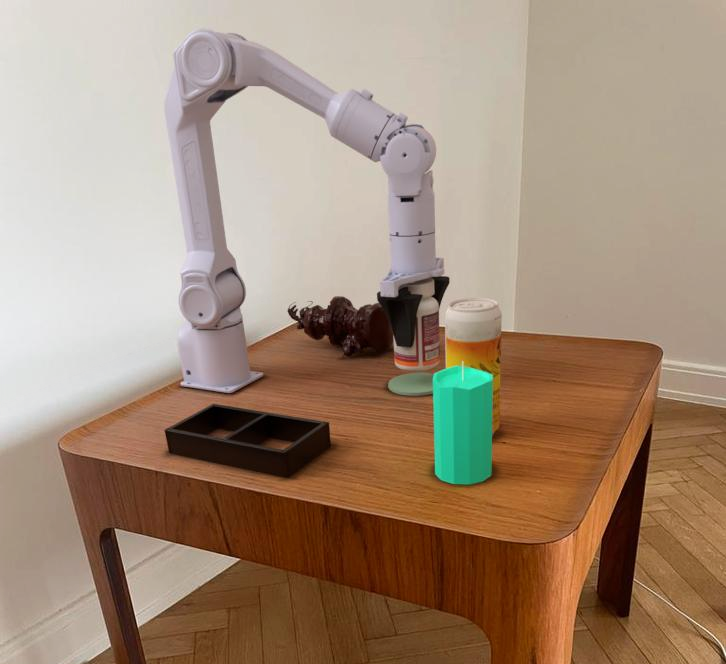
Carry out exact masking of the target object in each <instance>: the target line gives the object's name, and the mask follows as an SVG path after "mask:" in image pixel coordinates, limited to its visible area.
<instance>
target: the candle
mask: <svg viewBox="0 0 726 664" xmlns="http://www.w3.org/2000/svg"><path fill="white" fill-rule="evenodd" d="M433 374H434V377H433V394H432V402H433V403H432V405H433V441H434V442H433V445H434V447H433V448H434V475H435V476H436V477H437V478H438V479H439V480H440V481H442V482H446V483H449V484H452V485H474V484H478V483H482V482H484V481H486V480H488V478H490V477H491V476H492V470H493V468H492V467H493V435H492V409H493V375H492V374H490V373H487V372H485V371H481V370H478V369H475V368H470V367H464V361H462V366H453V367H450V368H447V369H446V368H444V369H441V370H439V371H437V372H434V373H433Z"/></svg>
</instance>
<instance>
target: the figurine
mask: <svg viewBox="0 0 726 664" xmlns="http://www.w3.org/2000/svg"><path fill="white" fill-rule="evenodd" d="M309 302H311V303H310V304H309V305H307V306H306V307H303V308H301V309H300V310H299V308H297V304H296V303H297V301H295V302H292V303H291V304H289V306H288V308H287V314H288V316H289V317H290V319H292V320H294V321H296V322H297V323H298V324H297V325H296V329H297V330H303V333H304V334H305V335H307V336H308V337H309V338H310V339H312V340H314V341H321V340H323V339H324V338H325V336H326V337H327V339H328V341H329V343H330V344H331V346H333V347H335V348H338V349H342V350H343V355H342V358H341V359H343V358H344V357H345V356H346V357H352V356H353V355H354V354H355V353H356V354H358V353H360V354H362V353H364V351H365V349H368V348H369V349H372V350H373V351H374V354H376V355H379V356H380V355H383V354H384V353H386V352H387V351H390V350H391V348H392V346H393V344H394V339H393V332H392V328H391V325H390V322H389V320H388V317H387V315H386V313H385V311H384V310H383V308H382V306H381V305H380V303H379V302H375V303H374V304H371V303H368V304H365V305H362V306H360V307H359V308H358V309H357V308H356V307H355V306H354V304H353V302H352V301H351V300H350V299H349V298H347V297H346V296H342V295H335V296H333V297H332V298H331V300H330V301H329V304H328V305H327V307H326V308H324V307H323V306H321V305H320V304H316V305H313V304H314V302H313V300H309V301H307V303H309ZM293 304H294V305H293ZM292 305H293V306H292ZM312 305H313V306H312ZM291 306H292V307H291ZM310 306H312V307H310ZM298 311H299V312H298ZM297 313H299V315H297Z"/></svg>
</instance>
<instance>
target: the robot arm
mask: <svg viewBox="0 0 726 664" xmlns="http://www.w3.org/2000/svg"><path fill="white" fill-rule="evenodd" d="M172 57H173V71H172V74H171V77H170V81H169V85H168V88H167V91H166V94H165V97H164V98H165V99H164V103H163V105H164V107H163V108H164V117H165V121H166V128H167V135H168V141H169V148H170V154H171V155H170V156H171V161H172V168H173V173H174V179H175V185H176V192H177V198H178V204H179V211H180V217H181V222H182V223H181V224H182V229H183V235H184V236H183V237H184V241H185V242H184V243H185V248H186V256H185V259H184V262H183V264H182V267H181V270H180V272H179V273H180V280H181V286H180V291H179V294H178V299H177V300H178V307H179V310H180V312H181V314H182V316H183V318H184V319H186V321H185V322H184V323H182V325H181V326H180V328H179V329H178V333H177V339H176V340H177V341H176V342H177V343H176V344H177V351H178V354H179V355H178V356H179V360H180V361H179V362H180V366H181V371H182V377H183V381H181V382H180V386H181V387H186V388H191V389H192V388H193V389H197V390H205V391H211V392H218V393H225V394H232V393H234V392H237V391H238V390H240V389H242V388H244V387H246V386H247V385H249V384H251V383H253V382H255V381H257V380H259V379H261V378H262V377H264V373H263V372H261V371H260V372H259V371H253V370H251V367H250V362H249V361H250V360H249V353H248V347H247V341H246V340H247V339H246V332H245V325H244V318H243V317H244V316H243V314H242V312H241V307H242V305H243V304H244V302H245V300H246V296H247V288H246V285H245V284H246V283H245V282H244V280H243V278H242V277H241V274H240V273H239V271H238V268H237V267H238V266H237V261H236V258H235V257H234V255H233V254H232V252H231V251H230V250H229V249H228V245H227V238H226V231H225V225H224V224H225V223H224V222H225V221H224V215H223V209H222V201H221V194H220V193H221V192H220V185H219V179H218V171H217V164H216V157H215V149H214V141H213V134H212V128H211V127H212V126H211V120H212V118H214V116H215V115H216V114H217V113H218V111H219V110H220V109H221V108H222V107H223V105H224V104H225V103H226V101H228V100H229V99H231V98H232V97H234V96H236V95H238V94H240V93H241V92H242V91H244V90H246V89H247V88H249V87H265V88H268V89H270V90H272V91H274V92H275V93H277V94H279V95H281V96H283V97H284V98H286V99H288V100H289V101H291V102H293V103H295V104H297V105H298V106H301V107H302V108H304V109H306V110H308V111H309V112H310V113H311V112H312V113H314V115H316V116H319V117H321V118H322V119H324V120H325V122H326V123H325V124H326V125H327V128H328V132H329V135H330V137H332V138H334V139H335V140H337V141H338V142H341V143H342V144H344V145H345V146H347V147H349V148H350V149H352V150H353V151H355V152H357V153H359V154H360V155H362V156H364V157H365V158H367V159H368V160H370V161H372V162H373V163H378V162H380V164H381V167H382V169H383V171H384V173H385V174H386V175H387V185H388V189H387V190H388V194H387V210H388V211H387V213H388V231H389V253H390V269H389V270H388V272H387V273H386V275H385V277H384V278H382V279H381V280H379V289H380V291H377V292H376V301H377V303H380V305H381V306H382V308H383V310H384V311H385V313H386V315H387V317H388V320H389V322H390V325H391V328H392V332H393V335H394V339H395V342H396V345H397V346H400V347H412V346H413V343H414V337H415V322H416V315H417V311H418V307H419V304H420V301H421V299H422V297H423V295H421V294H411V292H410V291H409V292H408V287H407V286H408V285H409V284H413V283H414V282H416V281H419V280H423V279H427V278H433V279H434V290H435V293H434V295H432V296H431V297H433V298H434V299H436V300H437V302H438V304H439V309H441V305H442V302H443V298H444V295H445V293H446V291H447V289H448V287H449V285H450V282H451V281H450V277H449V276H446V275H445V259H444V257H437V255H436V254H437V253H436V251H437V250H436V207H435V206H436V205H435V204H436V203H435V201H436V200H435V198H436V197H435V192H434V181H435V180H434V176H433V174H434V173H433V170H430V169H431V168H432V167H433V164H434V163H435V160H436V156H437V146H436V145H437V144H436V142H435V139H434V137H433V135H431V133H430V132H429V131H428V130H426V128H425V127H424V126H423V125H422V124H418V123H410V124H407V121H408V118H409V116H407V115H406V114H404V113H403V112H399V113H398V114H396V113H395V112H392V111H391V110H389V109H388V108H386V107H385V106H382V105H381V104H379V103H378V102H376V101H374V100H373V97H374V93H372V92H371V91H369V90H367V89H365V88H363V89H361V90H360V91H358V90H356V89H355V88H350V89H347V90H344V91H342V92H339V93H338V92H337V91H335V90H334V89H332V88H331V87H329V86H328V85H326V84H325V83H323V82H321V80H318V79H317V78H316V77H314V76H313V75H311V74H310V73H308V72H307V71H305V70H304V69H302V68H300V67H299V66H298V65H296V64H294V63H293V62H292V61H290V60H289V59H287V58H286V57H284V56H283V55H281V54H279V53H278V52H276V51H275V50H272V49H270V48H269V47H267V46H265V45H263V44H261V43H259V42H255V41H253V40H249V39H247V38H246V37H244V36H243V35H241V34H238V33H235V32H226V33H225V32H219V31H215V30H212V29H210V28H197V29H195V30H193V31H191V32H189V33H188V34H187V35H186V37H185V38H184V39H183V40H182V41H181V42H180V44H179V45H178V46H177V47H176V48H175V50H174V51H173V52H172Z"/></svg>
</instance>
